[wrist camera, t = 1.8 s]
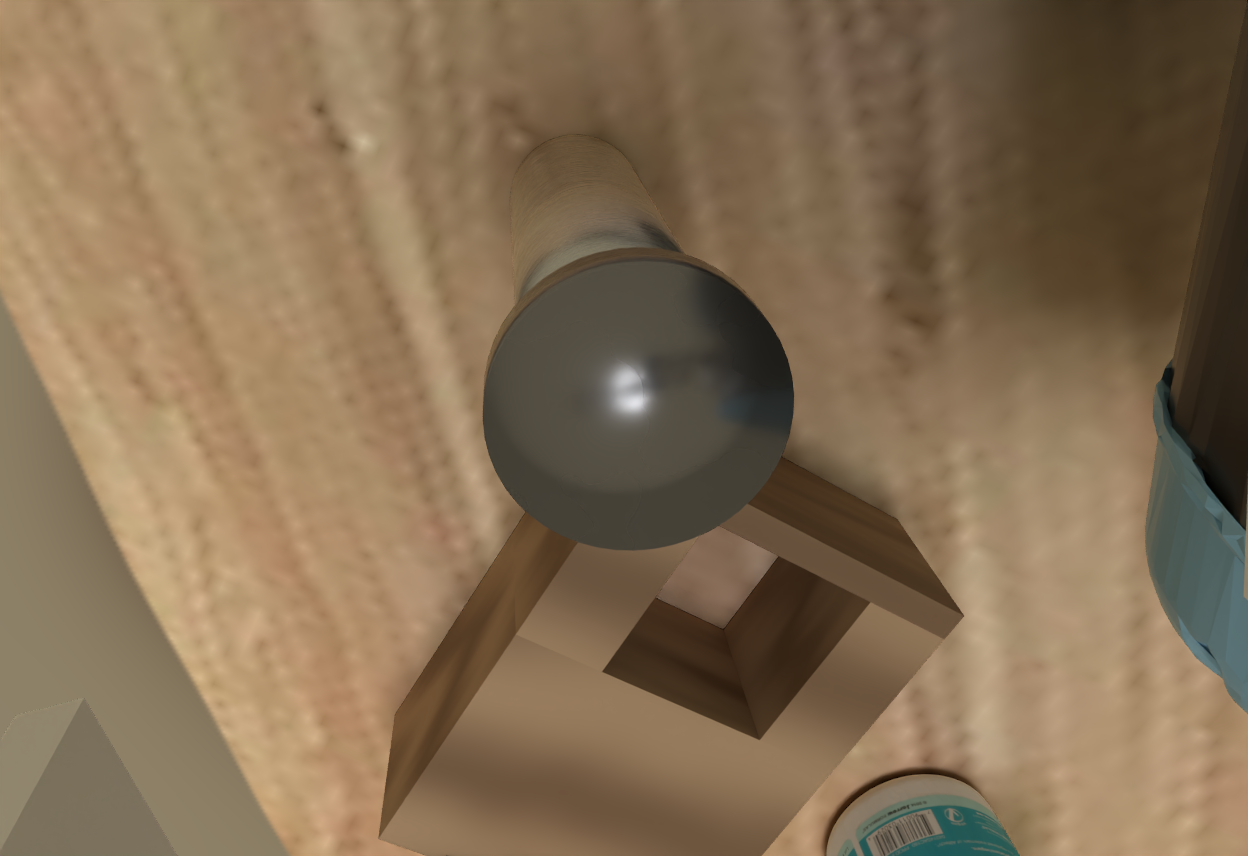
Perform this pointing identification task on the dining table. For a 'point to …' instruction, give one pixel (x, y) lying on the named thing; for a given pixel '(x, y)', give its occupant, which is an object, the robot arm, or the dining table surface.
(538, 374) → the steel pin
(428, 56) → the dining table surface
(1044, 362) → the dining table surface
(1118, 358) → the dining table surface
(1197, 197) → the dining table surface
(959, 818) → the pill bottle
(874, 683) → the block
